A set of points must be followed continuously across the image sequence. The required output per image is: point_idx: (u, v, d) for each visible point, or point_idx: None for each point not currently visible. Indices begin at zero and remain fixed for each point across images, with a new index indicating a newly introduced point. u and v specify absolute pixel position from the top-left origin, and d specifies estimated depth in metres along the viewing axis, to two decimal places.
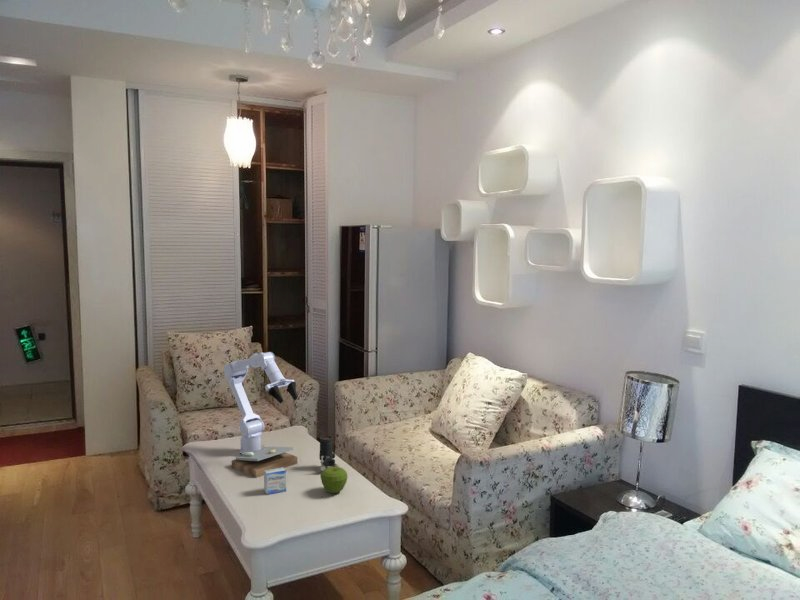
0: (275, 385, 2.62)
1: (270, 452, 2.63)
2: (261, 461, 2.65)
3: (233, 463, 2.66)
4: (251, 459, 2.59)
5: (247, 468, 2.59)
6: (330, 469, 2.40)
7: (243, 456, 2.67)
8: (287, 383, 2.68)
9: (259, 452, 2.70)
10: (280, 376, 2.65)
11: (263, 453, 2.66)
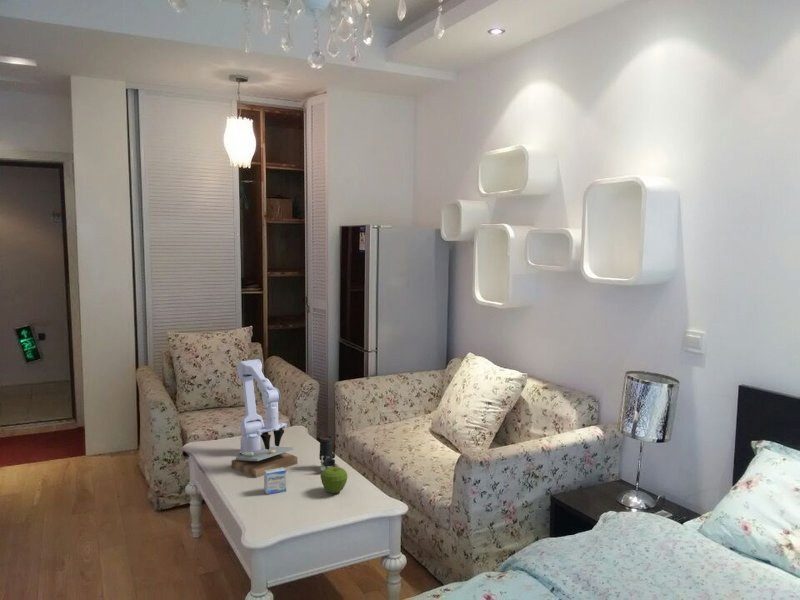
0: None
1: (270, 452, 2.63)
2: (261, 461, 2.65)
3: (233, 463, 2.66)
4: (251, 459, 2.59)
5: (247, 468, 2.59)
6: (330, 469, 2.40)
7: (243, 456, 2.67)
8: None
9: (259, 452, 2.70)
10: (275, 424, 2.62)
11: (263, 453, 2.66)
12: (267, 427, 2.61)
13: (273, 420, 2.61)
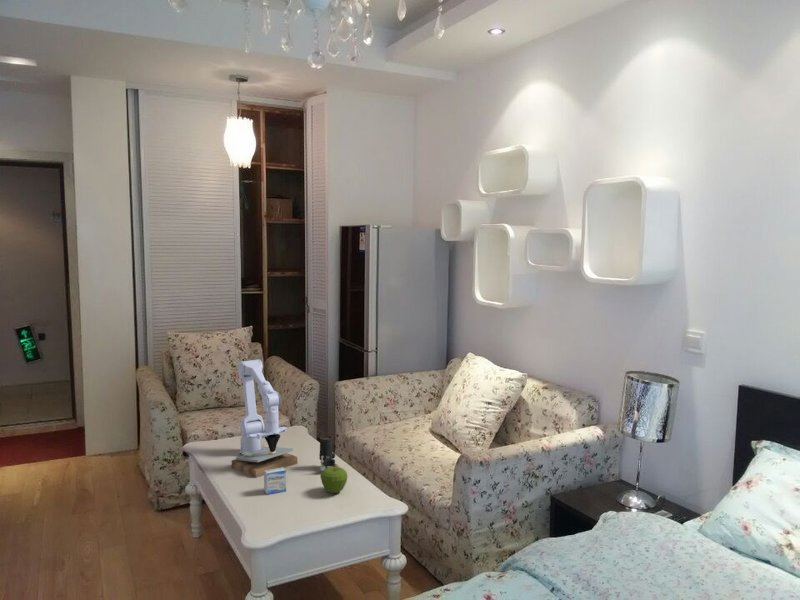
0: (267, 434, 2.61)
1: (270, 453, 2.63)
2: (261, 461, 2.65)
3: (233, 463, 2.66)
4: (251, 460, 2.59)
5: (247, 468, 2.59)
6: (330, 469, 2.40)
7: (243, 456, 2.67)
8: None
9: (259, 452, 2.70)
10: (276, 428, 2.62)
11: (263, 454, 2.66)
12: (267, 431, 2.61)
13: (273, 424, 2.61)
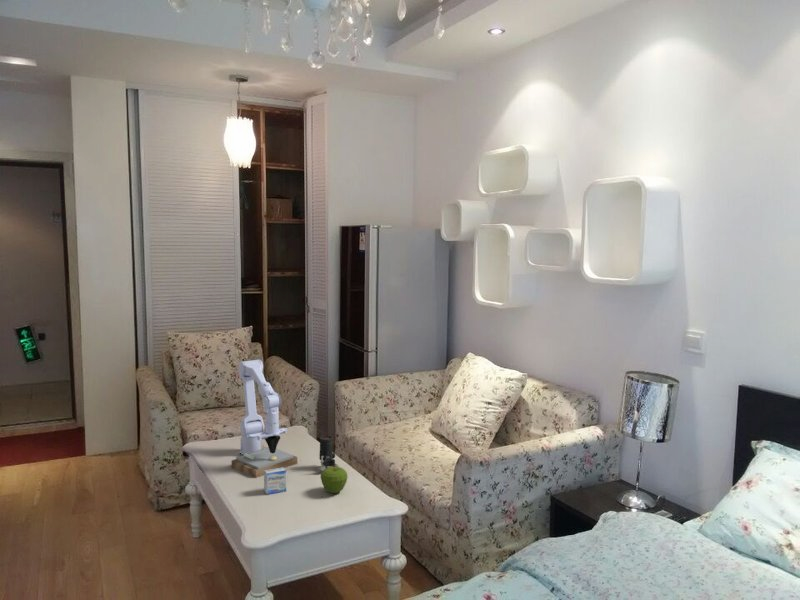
0: None
1: (271, 459, 2.63)
2: None
3: (233, 463, 2.66)
4: (252, 465, 2.59)
5: (247, 468, 2.59)
6: (330, 469, 2.40)
7: (243, 458, 2.66)
8: (279, 432, 2.66)
9: (260, 455, 2.70)
10: (276, 429, 2.62)
11: (264, 458, 2.66)
12: (267, 432, 2.61)
13: (273, 425, 2.61)
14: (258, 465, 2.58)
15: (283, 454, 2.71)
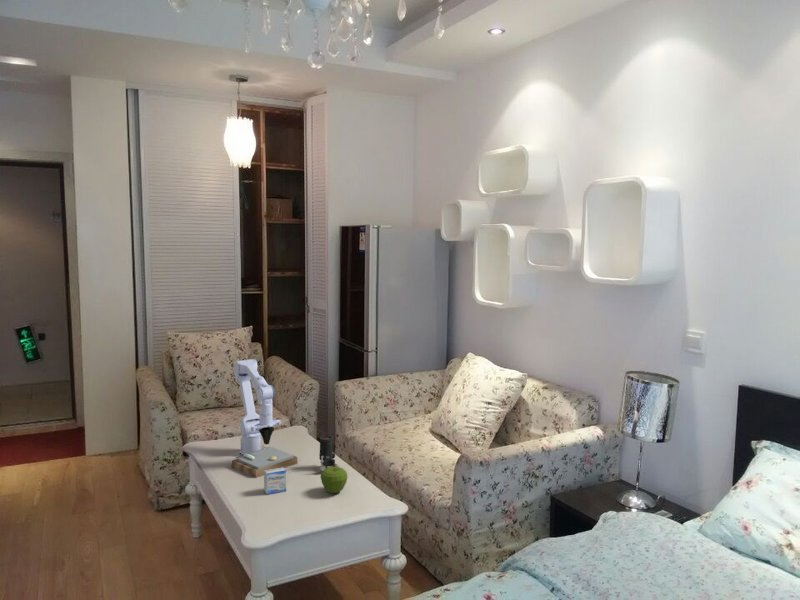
0: None
1: (271, 459, 2.63)
2: None
3: (233, 463, 2.66)
4: (252, 465, 2.59)
5: (247, 468, 2.59)
6: (330, 469, 2.40)
7: (243, 458, 2.66)
8: None
9: (260, 455, 2.70)
10: (269, 421, 2.66)
11: (264, 458, 2.66)
12: (261, 424, 2.65)
13: (267, 417, 2.65)
14: (258, 465, 2.58)
15: (283, 454, 2.71)
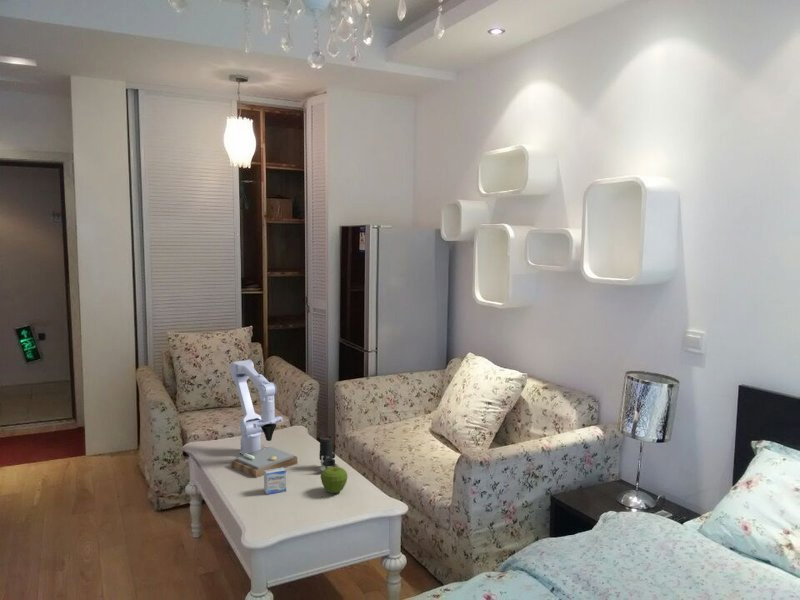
0: None
1: (271, 459, 2.63)
2: None
3: (233, 463, 2.66)
4: (252, 465, 2.59)
5: (247, 468, 2.59)
6: (330, 469, 2.40)
7: (243, 458, 2.66)
8: None
9: (260, 455, 2.70)
10: (272, 417, 2.68)
11: (264, 458, 2.66)
12: (264, 420, 2.67)
13: (269, 413, 2.67)
14: (258, 465, 2.58)
15: (283, 454, 2.71)
